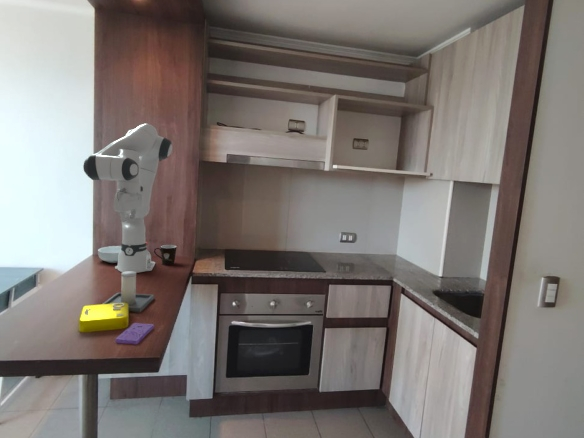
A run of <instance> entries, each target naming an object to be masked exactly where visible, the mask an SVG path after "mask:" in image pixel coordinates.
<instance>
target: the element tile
mask: <svg viewBox="0 0 584 438" xmlns="http://www.w3.org/2000/svg"><path fill="white" fill-rule="evenodd" d="M129 314H130V312H128V304H127V303H112V304H103V303H102V304H101V303H100V304H99V303H98V304H87V305H84V306H82V309H81V311H80V314H79V318H78V332H79V333H93V332H103V331H113V330H121V329H123V330H124V329H127V328H129V316H130V315H129Z"/></svg>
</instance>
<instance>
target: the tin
mask: <svg viewBox="0 0 584 438" xmlns="http://www.w3.org/2000/svg"><path fill="white" fill-rule="evenodd" d="M120 274H121V279H120V281H121V283H120V284H121V289H120V291H121V292H120V293H121V303H127V304H128V305H131V304H134V303H135V299H136V294H137V292H136V291H137V288H136V287H137V273H136V272H134V271H126V272H121V273H120Z"/></svg>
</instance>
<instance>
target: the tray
mask: <svg viewBox="0 0 584 438" xmlns="http://www.w3.org/2000/svg"><path fill="white" fill-rule="evenodd" d="M154 299H155V294H149V293H148V294H146V293H136V299H135V303H134V304H131V305H128V312H129V313H141V312H142V311H144V309H145V308H146V307H147V306H148V305H149V304H150V303H151V302H152V301H153V300H154ZM112 303H121V292H117V293H115V294H114V295H112V296H111V297H110V298H108V299H107V300H106V301H104V302H103V303H102V304H112Z"/></svg>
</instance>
